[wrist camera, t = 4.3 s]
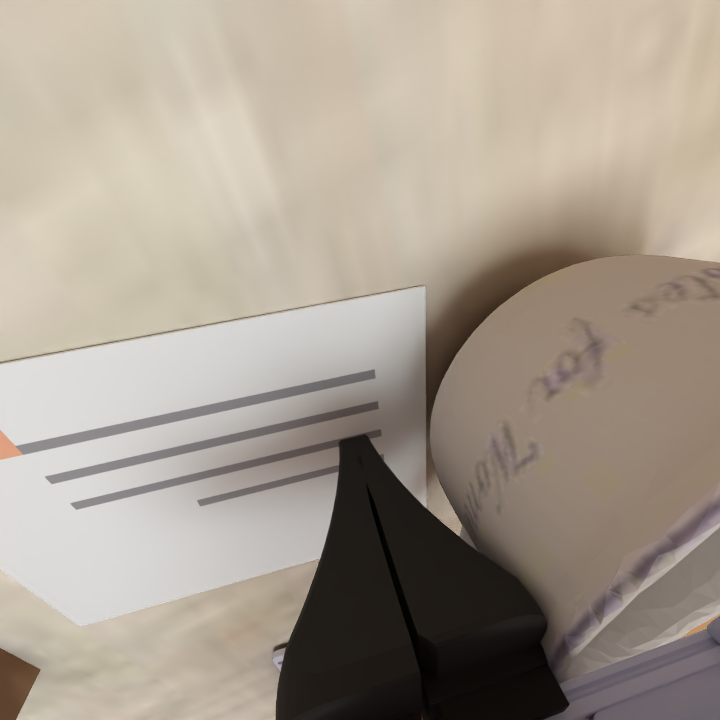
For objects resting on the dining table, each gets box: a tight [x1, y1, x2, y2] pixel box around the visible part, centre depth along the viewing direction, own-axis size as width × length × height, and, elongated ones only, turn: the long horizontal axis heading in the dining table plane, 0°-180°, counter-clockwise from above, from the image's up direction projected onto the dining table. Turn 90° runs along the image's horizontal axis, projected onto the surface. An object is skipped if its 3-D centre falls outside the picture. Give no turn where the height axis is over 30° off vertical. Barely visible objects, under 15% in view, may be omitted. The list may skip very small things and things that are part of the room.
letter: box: [0, 285, 426, 627], centre depth 13 cm, size 14×18×1 cm
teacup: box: [430, 255, 720, 684], centre depth 10 cm, size 14×11×8 cm
